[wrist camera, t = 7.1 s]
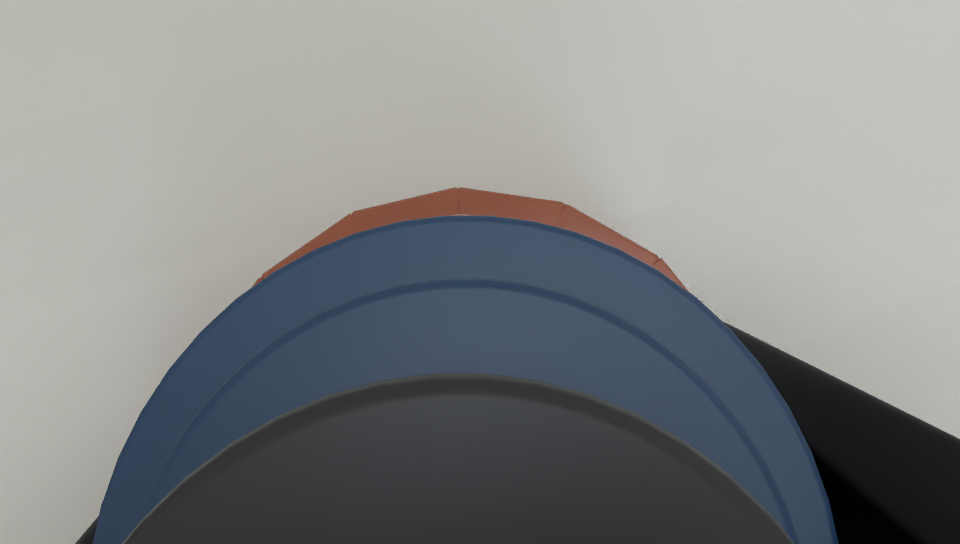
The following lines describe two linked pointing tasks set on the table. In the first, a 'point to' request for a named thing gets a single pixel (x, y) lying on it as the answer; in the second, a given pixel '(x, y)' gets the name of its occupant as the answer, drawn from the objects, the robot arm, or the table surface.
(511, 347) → the blue bottle
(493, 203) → the dish
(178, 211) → the table surface
